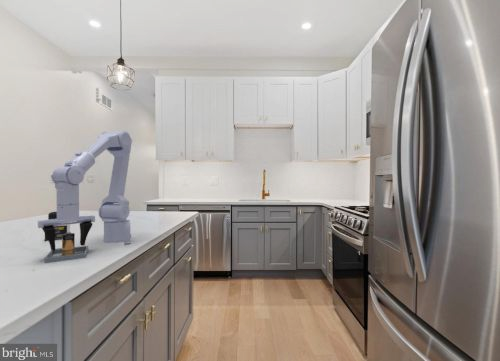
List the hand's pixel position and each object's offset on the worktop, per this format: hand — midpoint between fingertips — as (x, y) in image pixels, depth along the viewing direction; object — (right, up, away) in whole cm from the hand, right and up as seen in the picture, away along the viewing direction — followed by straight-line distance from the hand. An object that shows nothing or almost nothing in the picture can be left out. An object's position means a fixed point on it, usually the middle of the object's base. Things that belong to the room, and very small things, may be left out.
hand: (68, 247), depth 79 cm
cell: (0, -3, 0) cm, 3 cm away
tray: (0, -4, 0) cm, 4 cm away
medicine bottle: (-21, -4, +23) cm, 31 cm away
